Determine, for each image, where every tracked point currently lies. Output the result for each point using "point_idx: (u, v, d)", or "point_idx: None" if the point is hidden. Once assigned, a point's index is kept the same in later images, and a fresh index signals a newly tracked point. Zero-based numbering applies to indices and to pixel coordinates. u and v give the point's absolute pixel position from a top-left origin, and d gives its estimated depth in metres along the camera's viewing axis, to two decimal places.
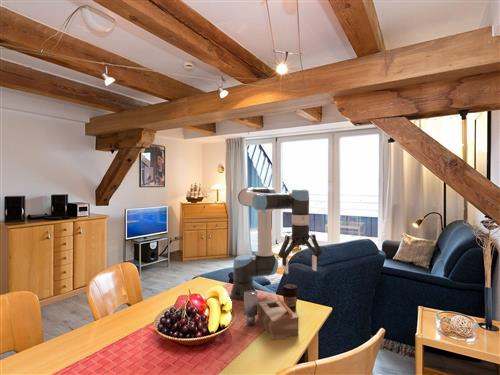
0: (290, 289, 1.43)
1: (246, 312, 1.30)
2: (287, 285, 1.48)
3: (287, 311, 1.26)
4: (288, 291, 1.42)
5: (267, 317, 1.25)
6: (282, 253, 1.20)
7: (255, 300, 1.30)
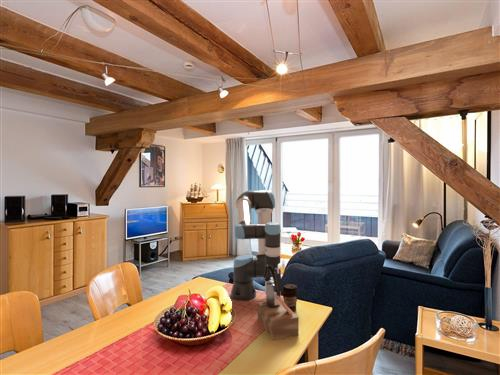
0: (290, 289, 1.43)
1: (269, 303, 1.32)
2: (287, 285, 1.48)
3: (287, 311, 1.26)
4: (288, 291, 1.42)
5: (267, 317, 1.25)
6: (264, 275, 1.43)
7: None
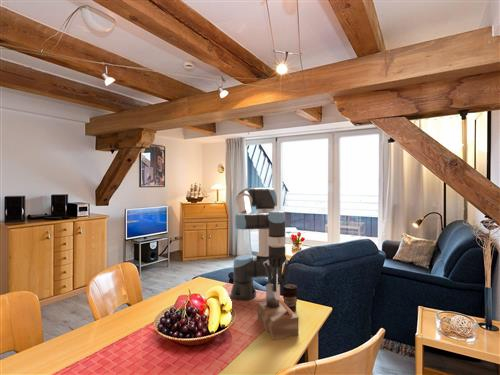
0: (290, 289, 1.43)
1: (269, 303, 1.32)
2: (287, 285, 1.48)
3: (287, 311, 1.26)
4: (288, 291, 1.42)
5: (267, 317, 1.25)
6: (270, 279, 1.22)
7: None
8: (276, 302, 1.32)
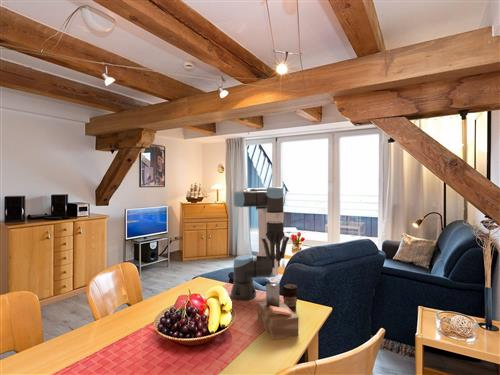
0: (290, 289, 1.43)
1: (269, 303, 1.32)
2: (287, 285, 1.48)
3: None
4: (288, 291, 1.42)
5: (267, 317, 1.25)
6: (269, 255, 1.21)
7: (277, 292, 1.32)
8: (276, 302, 1.32)
